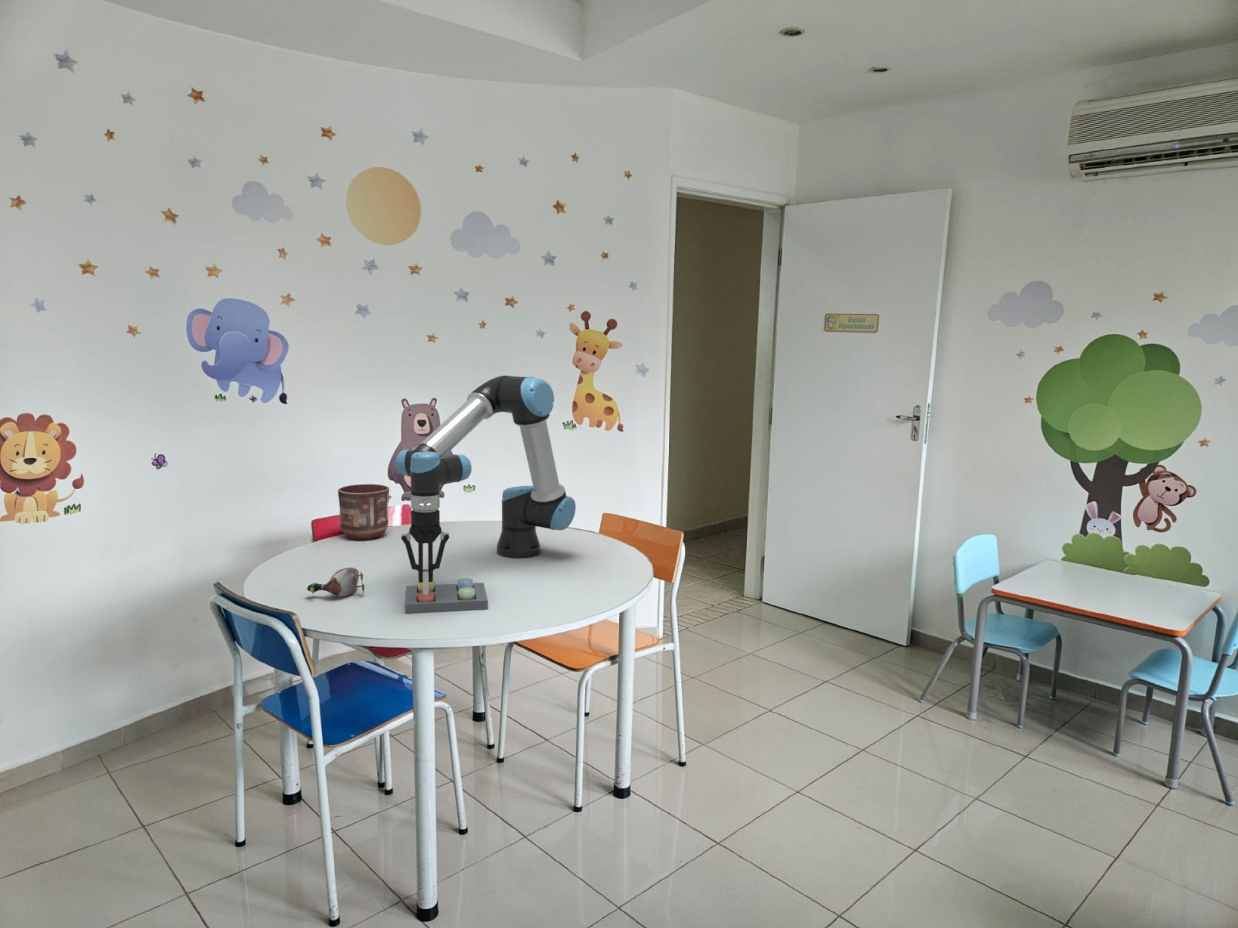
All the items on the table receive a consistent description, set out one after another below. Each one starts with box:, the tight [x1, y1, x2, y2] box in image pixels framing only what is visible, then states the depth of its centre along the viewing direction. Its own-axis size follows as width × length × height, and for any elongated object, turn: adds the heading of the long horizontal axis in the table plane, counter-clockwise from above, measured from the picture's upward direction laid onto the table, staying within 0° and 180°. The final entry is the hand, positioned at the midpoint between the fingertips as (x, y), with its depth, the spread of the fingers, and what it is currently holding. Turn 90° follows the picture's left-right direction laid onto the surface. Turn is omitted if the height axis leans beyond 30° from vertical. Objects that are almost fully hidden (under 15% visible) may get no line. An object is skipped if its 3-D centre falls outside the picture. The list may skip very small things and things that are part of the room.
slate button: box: [456, 578, 474, 591], centre depth 225 cm, size 4×4×3 cm
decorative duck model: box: [306, 567, 365, 597], centre depth 224 cm, size 15×8×15 cm
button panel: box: [404, 582, 489, 615], centre depth 220 cm, size 22×16×2 cm
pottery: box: [337, 483, 390, 541], centre depth 285 cm, size 18×18×18 cm
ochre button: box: [417, 580, 435, 593], centre depth 223 cm, size 4×4×3 cm
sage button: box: [459, 587, 475, 600], centre depth 218 cm, size 4×4×3 cm
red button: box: [418, 592, 434, 602], centre depth 215 cm, size 4×4×3 cm
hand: (425, 593), depth 215 cm, fingers closed
